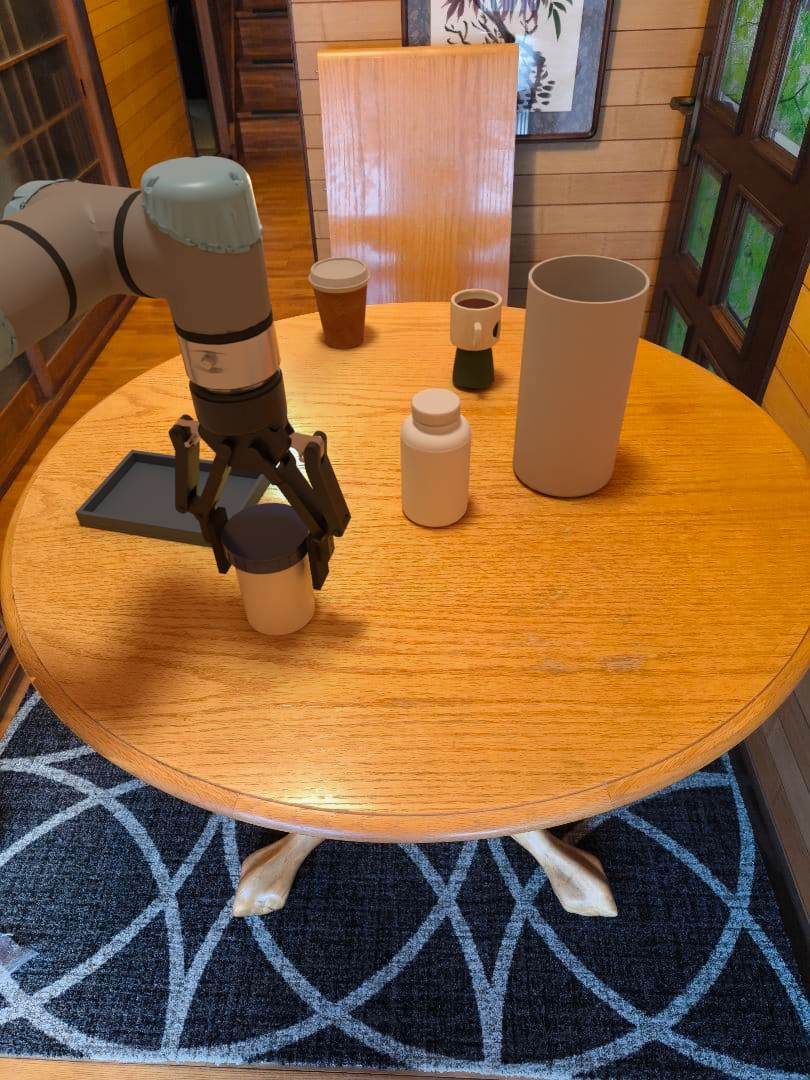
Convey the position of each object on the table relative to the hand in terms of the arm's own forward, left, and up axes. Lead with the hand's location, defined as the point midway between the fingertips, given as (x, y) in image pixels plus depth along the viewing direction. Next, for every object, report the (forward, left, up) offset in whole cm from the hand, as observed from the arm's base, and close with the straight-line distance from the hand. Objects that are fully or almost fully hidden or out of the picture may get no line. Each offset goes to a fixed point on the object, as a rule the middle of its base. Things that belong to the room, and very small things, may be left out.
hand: (274, 572), depth 76 cm
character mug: (+11, +50, -6) cm, 52 cm away
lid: (0, 0, +5) cm, 5 cm away
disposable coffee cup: (-12, +59, -6) cm, 60 cm away
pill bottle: (+12, +20, -6) cm, 24 cm away
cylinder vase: (+26, +31, -6) cm, 41 cm away
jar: (0, 0, -5) cm, 5 cm away
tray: (-19, +14, -5) cm, 24 cm away
